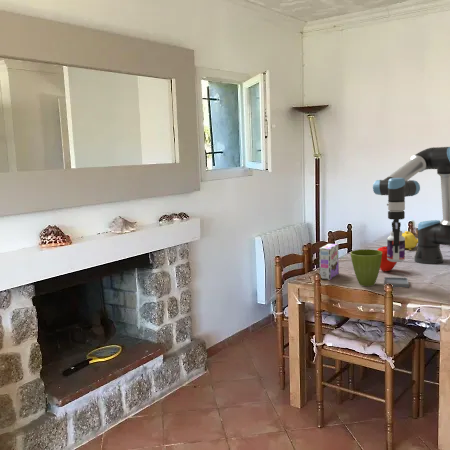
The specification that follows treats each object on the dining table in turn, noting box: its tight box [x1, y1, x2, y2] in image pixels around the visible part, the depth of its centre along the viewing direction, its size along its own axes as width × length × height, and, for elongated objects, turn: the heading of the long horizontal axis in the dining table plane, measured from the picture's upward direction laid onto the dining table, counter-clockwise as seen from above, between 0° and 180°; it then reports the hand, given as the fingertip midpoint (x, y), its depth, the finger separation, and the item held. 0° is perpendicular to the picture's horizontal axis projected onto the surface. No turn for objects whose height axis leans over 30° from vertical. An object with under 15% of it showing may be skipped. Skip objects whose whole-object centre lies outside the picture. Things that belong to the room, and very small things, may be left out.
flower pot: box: [350, 248, 382, 287], centre depth 248 cm, size 15×15×16 cm
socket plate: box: [383, 276, 410, 289], centre depth 246 cm, size 11×11×2 cm
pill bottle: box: [386, 230, 406, 263], centre depth 243 cm, size 8×8×14 cm
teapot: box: [402, 230, 418, 251], centre depth 324 cm, size 20×18×11 cm
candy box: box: [318, 243, 340, 281], centre depth 265 cm, size 14×6×16 cm, turn 148°
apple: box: [377, 246, 398, 272], centre depth 271 cm, size 12×12×13 cm
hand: (395, 257), depth 244 cm, fingers closed on pill bottle, 8 cm apart
